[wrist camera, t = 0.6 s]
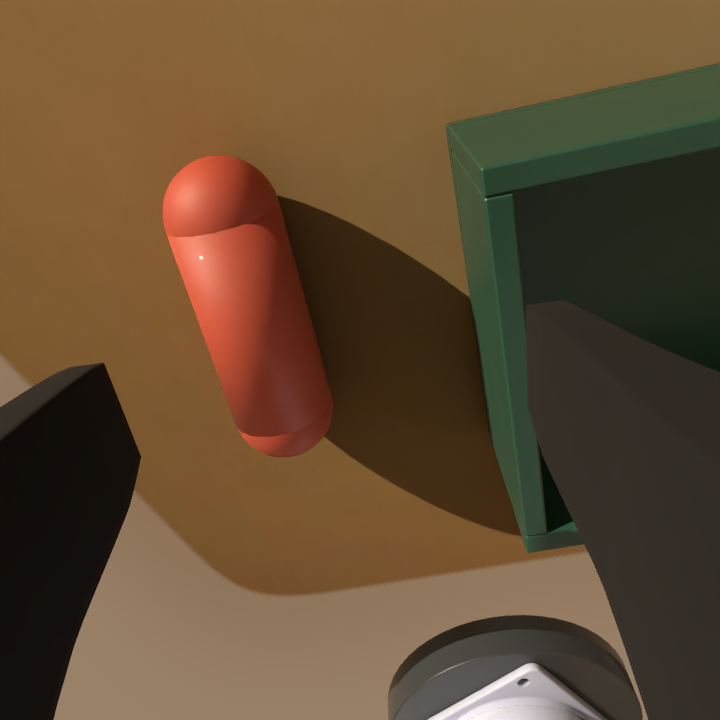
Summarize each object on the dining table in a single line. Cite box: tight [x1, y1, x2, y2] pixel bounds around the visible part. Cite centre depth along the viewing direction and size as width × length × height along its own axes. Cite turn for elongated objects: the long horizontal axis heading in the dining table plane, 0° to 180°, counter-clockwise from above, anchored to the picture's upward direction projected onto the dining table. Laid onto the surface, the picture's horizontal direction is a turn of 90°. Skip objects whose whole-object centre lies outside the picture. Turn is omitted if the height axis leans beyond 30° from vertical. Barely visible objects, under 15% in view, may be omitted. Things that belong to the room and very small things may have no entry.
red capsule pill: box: [163, 156, 333, 457], centre depth 18 cm, size 9×3×3 cm, turn 12°
